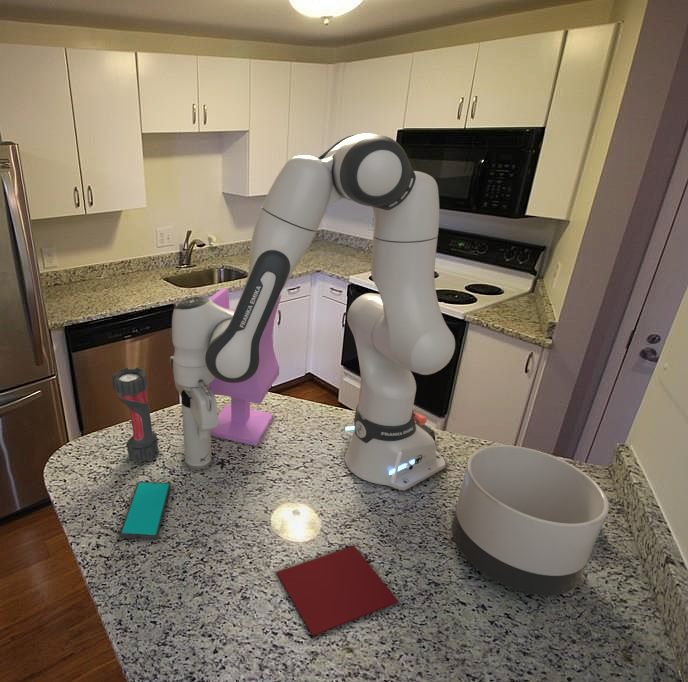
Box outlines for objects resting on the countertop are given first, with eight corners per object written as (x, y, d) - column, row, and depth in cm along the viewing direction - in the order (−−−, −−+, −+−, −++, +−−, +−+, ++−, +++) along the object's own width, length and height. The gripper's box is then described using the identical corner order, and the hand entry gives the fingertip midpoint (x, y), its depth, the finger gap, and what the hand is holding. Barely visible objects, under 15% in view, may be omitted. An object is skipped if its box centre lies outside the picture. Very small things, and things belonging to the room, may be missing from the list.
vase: (277, 416, 127) (282, 294, 113) (259, 449, 114) (261, 316, 100) (224, 405, 133) (222, 287, 119) (201, 435, 120) (196, 307, 106)
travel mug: (210, 471, 107) (207, 396, 99) (182, 468, 108) (177, 394, 100) (215, 454, 112) (213, 382, 104) (188, 452, 114) (184, 380, 106)
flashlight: (116, 461, 111) (104, 377, 102) (136, 443, 117) (127, 362, 108) (141, 471, 108) (132, 385, 98) (161, 453, 114) (154, 370, 104)
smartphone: (119, 534, 90) (138, 481, 103) (120, 537, 90) (138, 484, 104) (157, 537, 89) (170, 483, 102) (157, 540, 89) (171, 486, 103)
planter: (450, 506, 95) (467, 434, 88) (565, 539, 87) (595, 462, 79) (445, 580, 80) (466, 500, 72) (585, 629, 71) (624, 544, 64)
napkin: (353, 547, 86) (354, 545, 86) (398, 602, 76) (398, 600, 76) (276, 573, 82) (276, 571, 82) (312, 636, 71) (312, 634, 71)
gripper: (225, 390, 92) (225, 447, 98) (193, 350, 110) (195, 400, 116) (195, 396, 90) (197, 454, 96) (167, 354, 108) (170, 405, 114)
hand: (195, 424), depth 106 cm, fingers open, 8 cm apart
